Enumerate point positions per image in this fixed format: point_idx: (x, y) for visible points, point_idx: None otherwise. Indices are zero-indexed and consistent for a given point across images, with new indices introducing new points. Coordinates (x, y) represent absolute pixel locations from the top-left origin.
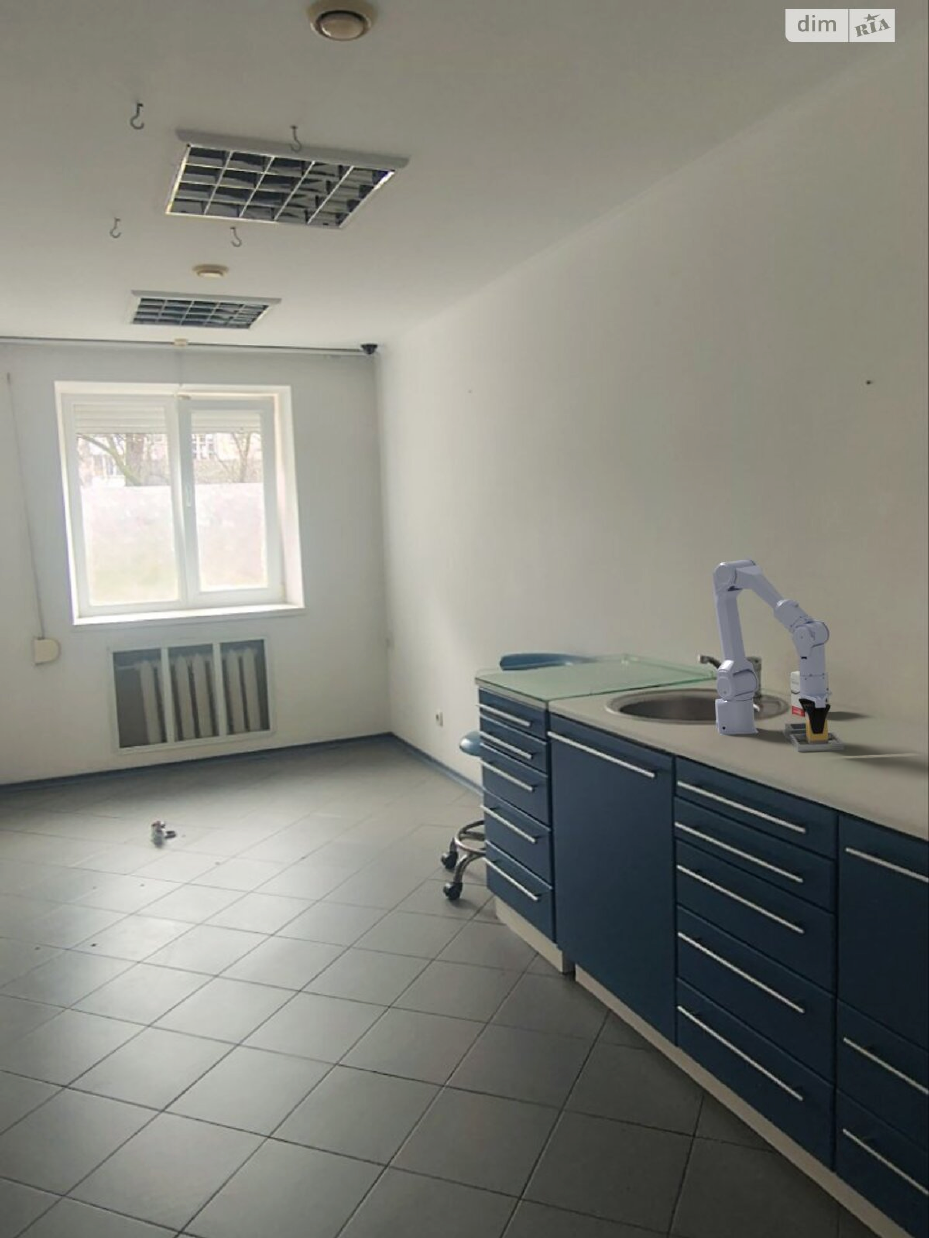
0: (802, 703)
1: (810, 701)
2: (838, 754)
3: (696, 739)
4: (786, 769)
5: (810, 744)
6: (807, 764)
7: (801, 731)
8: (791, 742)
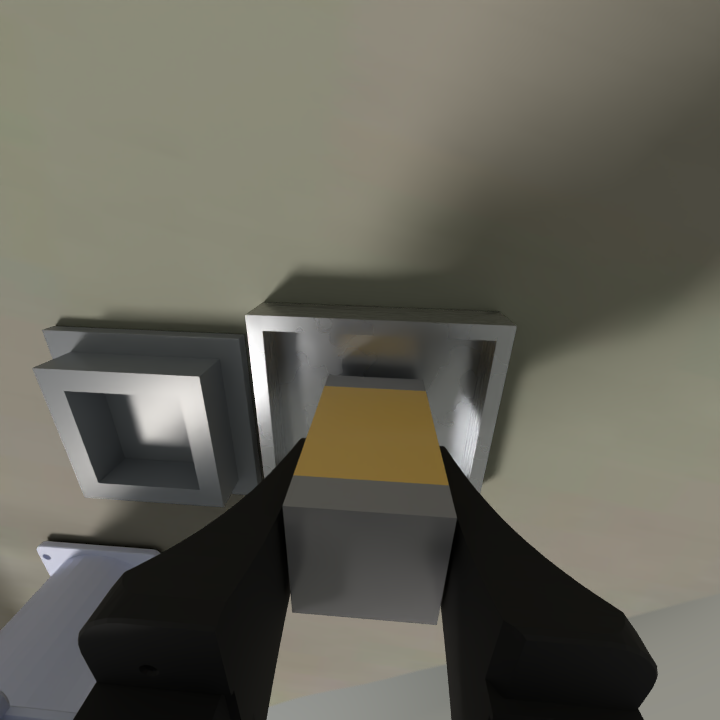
0: (264, 710)
1: (251, 692)
2: (526, 348)
3: None
4: (646, 565)
5: (471, 478)
6: (621, 497)
7: (220, 458)
8: None
